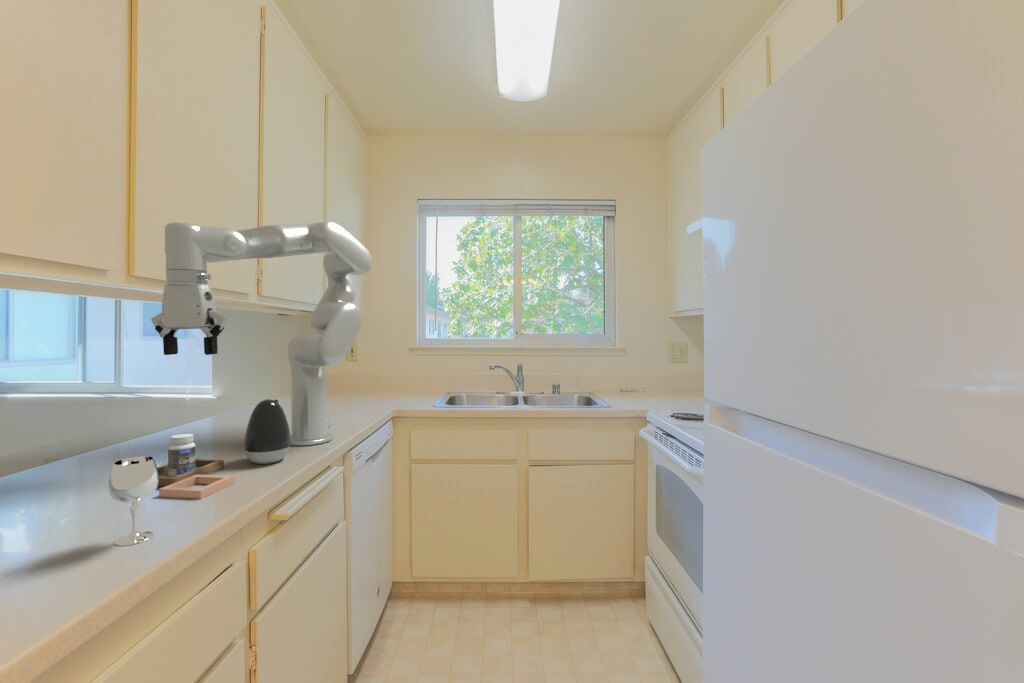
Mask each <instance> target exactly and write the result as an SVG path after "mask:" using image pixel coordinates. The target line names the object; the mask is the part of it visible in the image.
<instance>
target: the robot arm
mask: <svg viewBox="0 0 1024 683" xmlns="http://www.w3.org/2000/svg"><path fill="white" fill-rule="evenodd" d="M165 225H166V226H164V227H165V246H164V255H165V254H166V264H165V281H166V282H165V285H164V288H163V294H162V302H161V303H162V304H161V312H160V313H158V314H156V315H155V316H153V317H151V319H150V320H151V322H152V324H153V326H154V327H155V328H154V329H155V331H156V332H157V333H158V334H159V337H160V338H162V346H163V355H164V356H170V355H178V354H179V349H178V348H179V346H178V337H177V336H176V334H177V333H178V331H179V330H197V329H198V330H201V332H203V334H204V335H205V336H204V337H203V347H204V348H203V351H204V355H207V356H209V355H217V354H218V349H219V348H218V347H219V346H218V337H220V335H221V333H222V331H223V330H225V325H226V323H227V321H228V317H226V316H225V315H223V314H221V313H219V312H218V311H217V303H216V302H217V301H216V299H215V295H214V290H213V288H212V285H208V281H210V280H211V279H212V276H211V274H210V273H208V265H207V264H208V263H218V262H219V263H220V262H227V261H228V262H229V261H238V260H239V261H240V260H249V259H275V258H284V257H292V256H293V257H294V256H301V255H312V254H320V253H325V255H324V257H323V258H322V259H323V260H322V264H323V265H322V266H323V269H324V272H325V274H326V277H327V288H326V289H325V291H324V293H323V295H322V297H320V300H319V301H318V304H316V306H315V308H314V310H313V312H312V313H311V316H310V319H309V320H310V321H309V322H310V325H311V327H312V329H313V330H314V331H308V332H307V331H306V332H301V333H298V334H296V335H294V336H293V337H291V340H290V341H289V342H288V346H287V357H288V361H289V365H290V366H289V367H290V368H289V369H290V377H291V380H290V381H291V382H290V383H291V384H290V385H291V387H290V388H291V389H290V392H291V393H290V394H291V395H290V398H291V399H290V401H291V402H290V403H291V404H290V405H291V407H290V408H291V412H290V414H291V415H290V420H291V422H290V425H291V428H290V435H291V445H290V446H314V445H319V444H325V443H328V442H330V441H332V440H333V438H334V437H333V436H334V435H333V433H331V432H328V429H330V428H332V427H333V422H332V421H328V376H327V372H326V369H325V367H334V366H337V365H338V364H340V363H341V362H342V361H344V359H345V358H346V356H347V355H348V352H349V351H350V349H351V347H352V345H353V344H354V342H355V340H356V338H357V336H358V334H359V332H360V330H361V327H362V323H363V315H362V312H361V309H360V308H359V307H358V306H357V305H356V304H354V300H355V297H356V288H355V285H354V282H353V279H352V276H359V275H364V274H365V275H366V274H367V273H369V272H370V270H371V269H372V267H373V258H372V255H371V253H370V251H369V249H368V248H367V247H365V246H364V244H362V243H361V242H360V241H359V240H358V239H357V238H356V237H354V236H353V235H352V234H351V233H350V232H349V231H347V230H346V229H345V228H344V227H343V226H341V225H339V223H337V222H334V221H331V220H323V221H319V222H318V221H317V222H311V223H310V222H309V223H295V224H294V223H293V224H269V225H263V226H258V227H253V228H252V227H251V228H248V229H247V228H246V229H238V230H235V229H233V228H229V227H228V228H227V227H213V226H212V227H210V226H200V225H197V224H194V223H188V222H169V223H167V224H165ZM175 253H176V254H175ZM315 331H316V332H315Z"/></svg>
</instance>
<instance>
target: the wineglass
mask: <svg viewBox="0 0 1024 683" xmlns="http://www.w3.org/2000/svg"><path fill="white" fill-rule="evenodd" d="M157 467H158V466H157V463H156V460H155V457H153V456H150V455H149V456H145V455H144V456H143V455H141V456H134V457H133V456H132V457H126V458H123V459H120V460H116V461H114V462H113V464H112V467H111V471H110V475H109V480H108V492H109V496H110V497H111V499H112V500H113V501H115V502H118V503H121V504H131V506H130V508H129V512H130V514H131V518H132V529H131V532H130V533H129V534H126V535H123V536H121V537H119V538H118V539H116V540H115V541H114V545H115V546H121V547H124V546H125V547H126V546H132V545H136V544H139V543H143V542H145V541H146V542H147V540H149V539H151V538H153V537H154V532H152V531H148V530H146V531H145V530H144V531H139V529H138V526H137V523H138V522H137V520H138V513H139V509H140V507H139V504H138V503H139V502H141V501H145V500H146V499H148V498H149V497H151V496H152V495H153V494H154V493H155V492H156V490H157V489H158V488H157V487H158V482H159V475H158V470H157Z"/></svg>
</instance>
